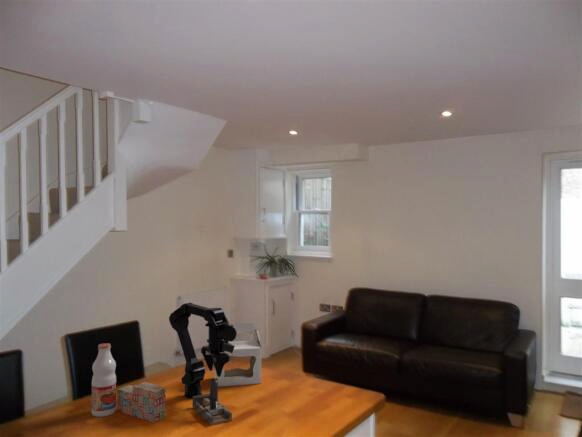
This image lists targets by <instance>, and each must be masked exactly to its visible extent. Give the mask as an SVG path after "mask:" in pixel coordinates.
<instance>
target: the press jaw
mask: <svg viewBox="0 0 582 437" xmlns="http://www.w3.org/2000/svg"><path fill="white" fill-rule="evenodd" d="M209 393H210V406H206V407H205V410H206V411H207V412H208V413H209V414H210V415H211V416H212V415H217V414H221V413H223V408H222V407H221V406H220V405H219V404H218V402H219V386H218V379H215V378H211V379H210V380H209Z"/></svg>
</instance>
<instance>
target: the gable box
mask: <svg viewBox="0 0 582 437" xmlns="http://www.w3.org/2000/svg"><path fill="white" fill-rule="evenodd" d="M232 325H233V328H235V330H236V332H237V334H238V335H239V334H253V340H233V341H228V343H229V344H232V345H234V346H235V347H234V350H233V353H230V352H227V351H224V352H223V353H226V354H228V355H229V356H230V357H238V358H243V357H244V358H245V357H250V358H249V368H248V369H244V368H240V367H239V368H238V367H236V368H231V369H227V370H225V368H224V366H223V369H222V372H221V376H220V377H218V376H217V373H216V370H215V369H214V379H218V387H229V386H231V387H232V386H244V385H245V386H247V385H258V384H259V385H260V384H262V345H261V342H260V341H261V335H260V329H257V330H256V327H255V324H254V323H238V324H236V323H235V324H232ZM221 353H222V352H221Z"/></svg>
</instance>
